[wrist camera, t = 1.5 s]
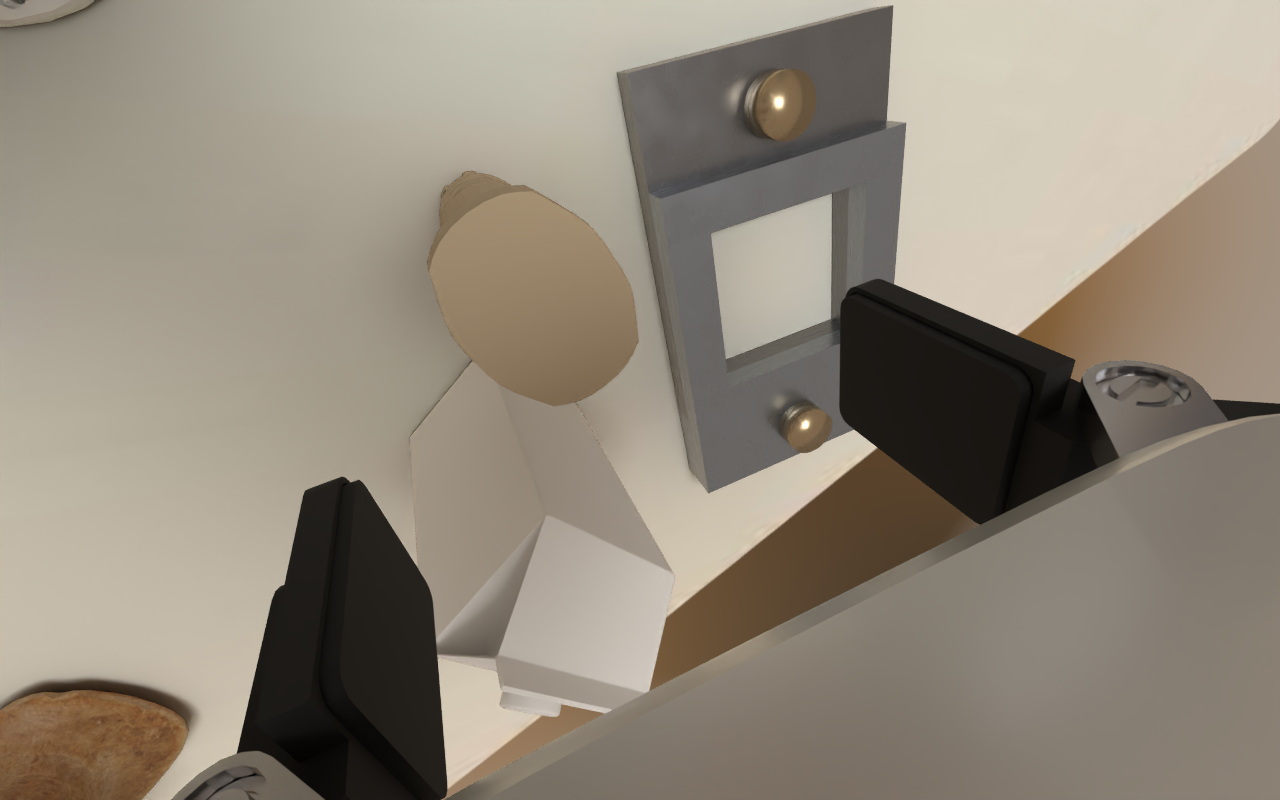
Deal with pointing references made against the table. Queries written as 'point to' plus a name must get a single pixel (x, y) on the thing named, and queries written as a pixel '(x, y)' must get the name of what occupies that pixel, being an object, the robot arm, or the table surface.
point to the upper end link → (684, 219)
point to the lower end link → (756, 125)
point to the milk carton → (534, 551)
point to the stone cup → (86, 746)
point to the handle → (530, 291)
